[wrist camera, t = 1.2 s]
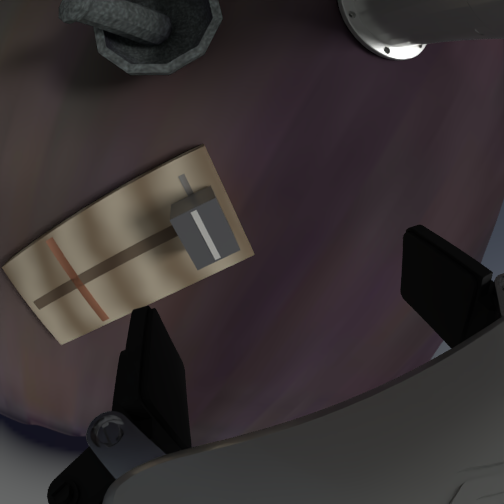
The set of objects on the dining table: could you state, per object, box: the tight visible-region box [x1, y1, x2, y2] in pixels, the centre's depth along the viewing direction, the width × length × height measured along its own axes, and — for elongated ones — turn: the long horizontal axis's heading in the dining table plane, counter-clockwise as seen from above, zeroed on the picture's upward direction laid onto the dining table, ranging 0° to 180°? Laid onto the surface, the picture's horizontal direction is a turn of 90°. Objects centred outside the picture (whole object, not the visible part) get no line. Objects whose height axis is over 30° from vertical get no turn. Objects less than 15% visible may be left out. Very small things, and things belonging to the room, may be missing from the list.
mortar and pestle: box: [59, 0, 223, 75], centre depth 17 cm, size 11×9×12 cm
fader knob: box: [170, 185, 240, 270], centre depth 27 cm, size 4×5×4 cm
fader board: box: [2, 144, 255, 345], centre depth 30 cm, size 26×12×2 cm, turn 112°
